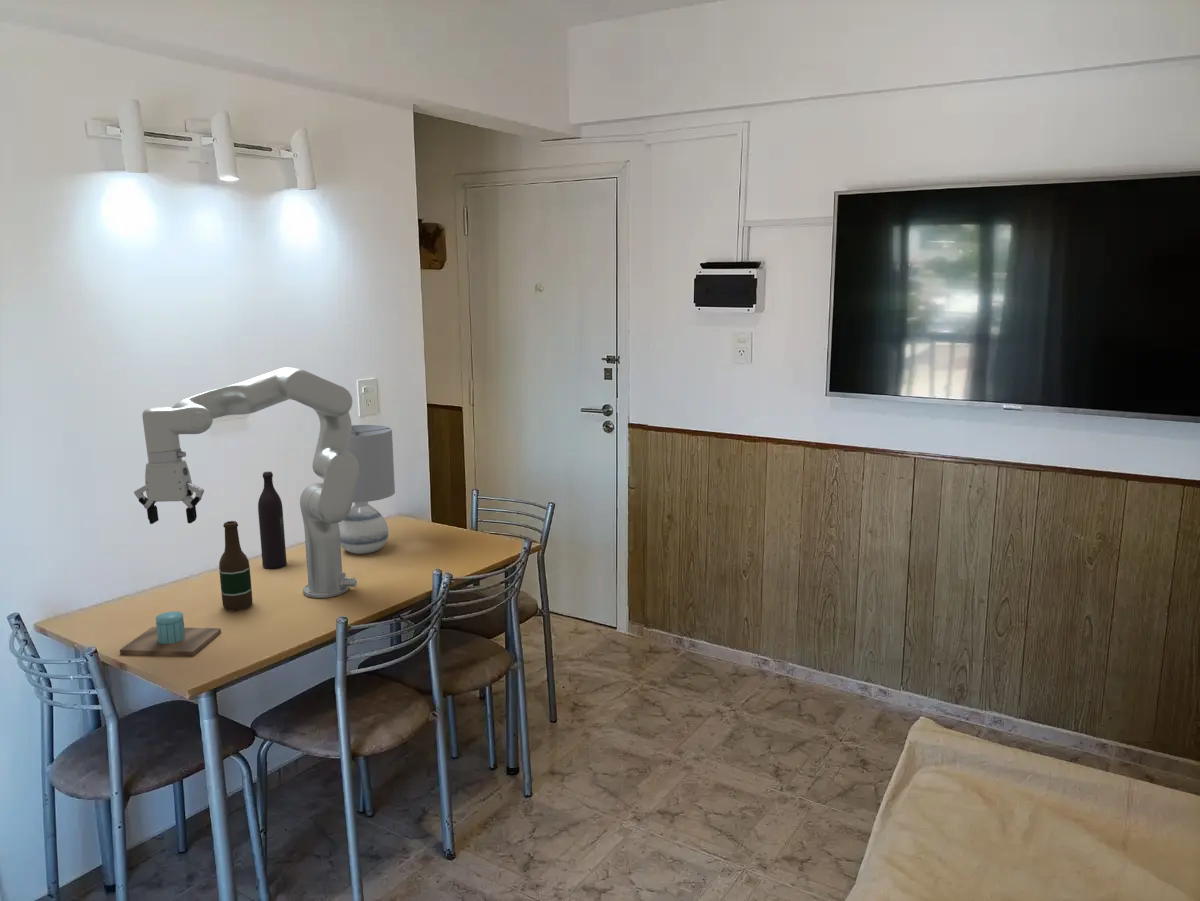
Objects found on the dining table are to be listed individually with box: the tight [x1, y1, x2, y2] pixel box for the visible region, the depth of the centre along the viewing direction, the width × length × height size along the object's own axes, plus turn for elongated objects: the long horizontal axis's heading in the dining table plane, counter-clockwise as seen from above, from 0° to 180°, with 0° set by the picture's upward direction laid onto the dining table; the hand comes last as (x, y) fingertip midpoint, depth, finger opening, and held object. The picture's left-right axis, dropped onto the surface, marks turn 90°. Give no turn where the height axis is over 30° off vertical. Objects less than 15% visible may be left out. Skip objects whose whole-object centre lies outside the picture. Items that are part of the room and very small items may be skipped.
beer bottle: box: [218, 520, 253, 612], centre depth 238 cm, size 8×8×24 cm
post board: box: [119, 626, 222, 657], centre depth 216 cm, size 18×14×6 cm
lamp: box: [339, 424, 396, 555], centre depth 286 cm, size 22×22×40 cm
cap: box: [155, 611, 185, 644], centre depth 216 cm, size 6×6×6 cm
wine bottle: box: [257, 471, 287, 570], centre depth 271 cm, size 7×7×30 cm
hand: (173, 522), depth 222 cm, fingers open, 9 cm apart
